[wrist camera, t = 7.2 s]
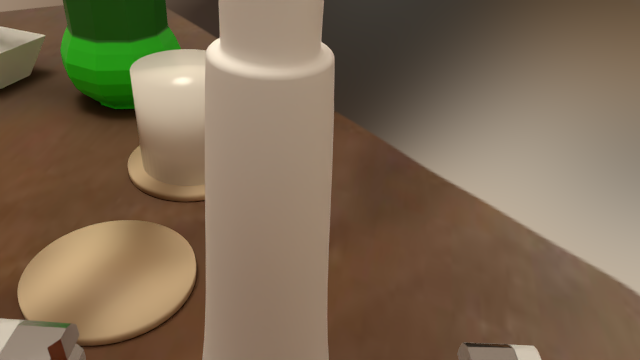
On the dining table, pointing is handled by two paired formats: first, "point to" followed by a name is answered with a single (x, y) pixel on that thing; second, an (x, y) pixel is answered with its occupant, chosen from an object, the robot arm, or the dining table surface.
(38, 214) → the dining table surface
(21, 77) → the figurine
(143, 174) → the coaster
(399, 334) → the dining table surface
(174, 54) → the white cylinder
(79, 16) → the plastic bottle
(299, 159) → the cosmetic bottle
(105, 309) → the coaster free
